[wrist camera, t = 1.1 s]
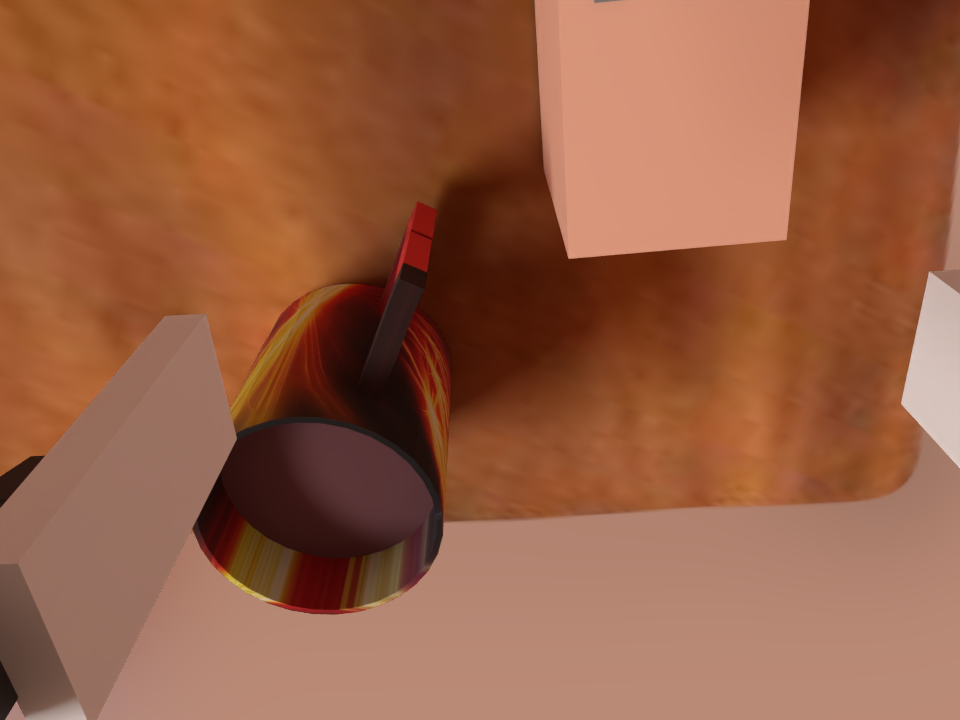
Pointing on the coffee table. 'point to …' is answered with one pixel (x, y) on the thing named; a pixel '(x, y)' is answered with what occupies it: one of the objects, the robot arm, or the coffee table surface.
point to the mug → (339, 447)
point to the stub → (669, 120)
